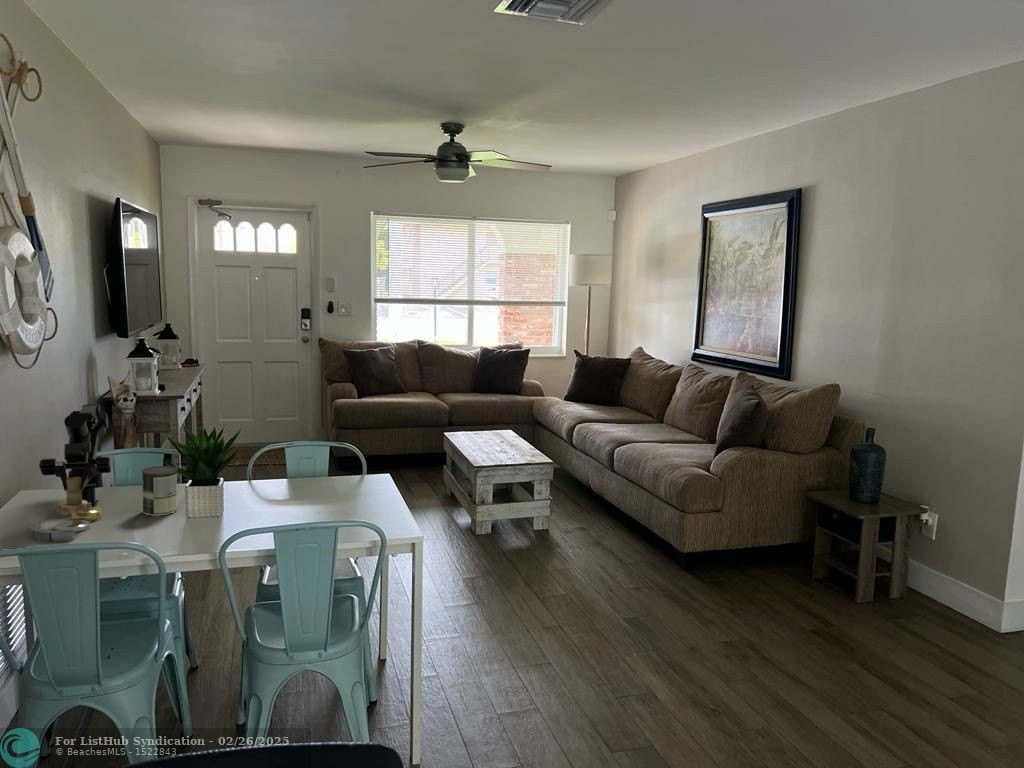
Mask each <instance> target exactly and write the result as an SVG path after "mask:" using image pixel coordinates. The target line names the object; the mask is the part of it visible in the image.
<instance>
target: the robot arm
mask: <svg viewBox="0 0 1024 768" xmlns="http://www.w3.org/2000/svg"><path fill="white" fill-rule="evenodd" d="M63 423H64V427H65V429H66V435H68V437H69V439H68V443H65V444H64V449H63V451H64V452H63V455H64V457H63V458H64V461H63V460H62V461H59V460H58V461H57V460H56V459H57V458H55V457H54V458H42V459H40V460H39V465H38V466H39V470H40V473H41V475H42V476H55V477H57V478H59V479H60V481H61V483H62V488H63V490H64V492H67V490H66V478H69V477H81V478H82V482H81V490H82V500H87V502H88V503H91V507H96V506H97V505H98V504H99V502H100V499H96V498H97V497H96V496H97V495H96V489H99V488H100V487H103V478H102V474H108V473H109V474H110V473H112V462H111V458H110V457H109V456H96V455H97V450H98V445H99V439H100V438H101V437H102V436H104V435H105V434H106V430H107V429H108V428H109V418H108V413H107V412H106V411H104V410H103V409H102V408H101V406H100V404H97V403H95V404H94V403H93V404H92V403H91V404H83V405H82V408H81V409H80V410H73V411H71V412H70V414H68V415H67V416H66V417H65V418H64V421H63ZM67 470H68V474H67Z"/></svg>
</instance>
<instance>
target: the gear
mask: <svg viewBox="0 0 1024 768" xmlns="http://www.w3.org/2000/svg"><path fill="white" fill-rule="evenodd" d="M81 482H82V478H81V477H69V476H68V477H67V478H66V501H65V502H63V503H58V504H57V505H56V508H57V512H61V514H62V515H68V514H69V515H70V514H71V515H72V514H74V513H78V514H79V513H84V511H87V510H91V503H88V502H87V500H82V490H81Z"/></svg>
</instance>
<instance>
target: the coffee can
mask: <svg viewBox="0 0 1024 768" xmlns="http://www.w3.org/2000/svg"><path fill="white" fill-rule="evenodd" d="M177 472H178V468H177V467H174V466H169V465H158V466H151V467H146V468H144V469H142V471H141V474H142V514H143V513H144V514H146V515H145V516H147V515H153V516H152V517H160V516H159V515H165V516H167V515H166V514H170V513H173V514H175V513H176V512H177V511H178V507H177V506H178V504H177V503H178V502H177V499H178V497H177V496H178V493H177V492H178V491H177V489H178V488H177V487H178V485H177V483H178V481H177V480H178V479H177V478H178V476H177V475H178V473H177ZM175 511H176V512H175ZM174 512H175V513H174ZM144 514H143V515H144ZM170 515H171V514H170Z"/></svg>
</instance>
